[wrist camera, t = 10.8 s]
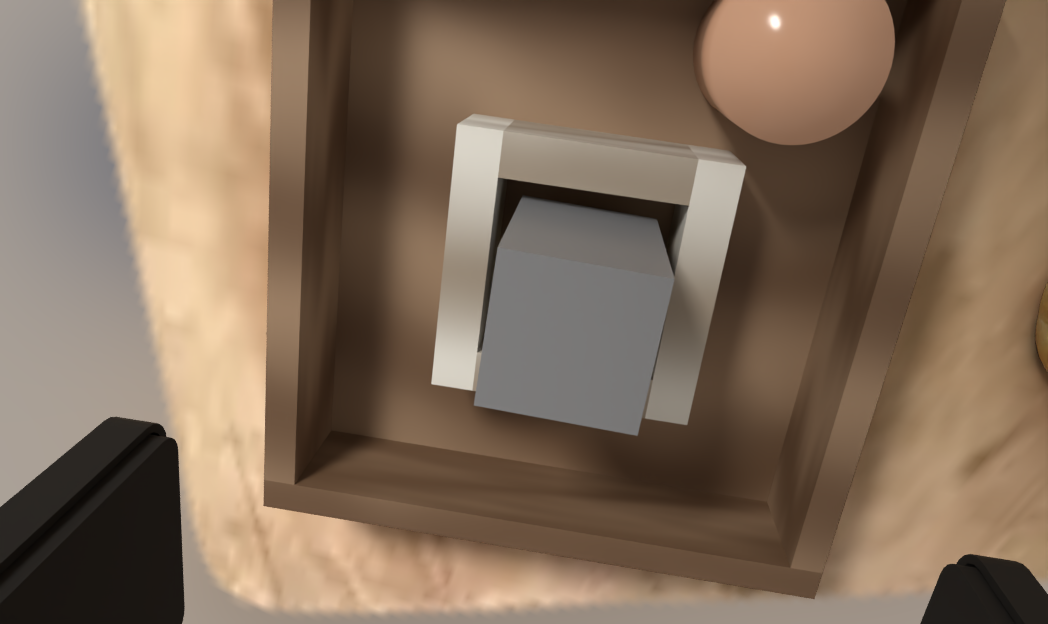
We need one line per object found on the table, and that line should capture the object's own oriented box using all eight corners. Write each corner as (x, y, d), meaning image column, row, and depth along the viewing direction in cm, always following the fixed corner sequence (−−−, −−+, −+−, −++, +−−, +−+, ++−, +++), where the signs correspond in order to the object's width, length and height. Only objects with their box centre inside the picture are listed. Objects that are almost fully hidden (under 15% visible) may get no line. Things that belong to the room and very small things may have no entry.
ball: (710, -40, 22) (732, -55, 19) (864, -19, 22) (918, -30, 18) (679, 116, 24) (694, 131, 20) (824, 137, 24) (866, 156, 20)
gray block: (528, 183, 25) (497, 247, 18) (652, 205, 25) (674, 278, 17) (510, 299, 26) (473, 405, 19) (627, 320, 26) (637, 435, 19)
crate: (336, -156, 23) (276, -199, 19) (954, -75, 22) (1037, -100, 18) (311, 438, 30) (263, 505, 26) (783, 517, 29) (814, 599, 25)
